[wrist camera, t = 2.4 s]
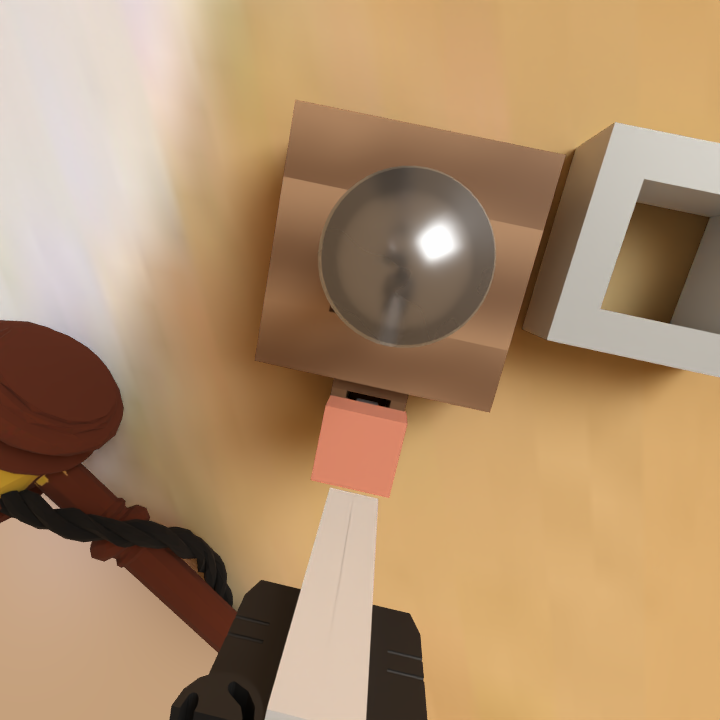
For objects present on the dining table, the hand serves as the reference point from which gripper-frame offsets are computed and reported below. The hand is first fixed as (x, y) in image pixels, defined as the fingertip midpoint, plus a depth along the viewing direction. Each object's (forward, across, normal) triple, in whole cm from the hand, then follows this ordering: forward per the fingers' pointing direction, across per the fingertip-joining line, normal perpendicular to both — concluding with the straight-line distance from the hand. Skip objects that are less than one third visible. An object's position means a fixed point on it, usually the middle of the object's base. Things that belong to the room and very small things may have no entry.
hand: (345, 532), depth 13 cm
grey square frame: (+14, +13, +11) cm, 22 cm away
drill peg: (+14, 0, +8) cm, 16 cm away
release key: (+11, 0, 0) cm, 11 cm away
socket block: (+14, 0, +6) cm, 15 cm away
